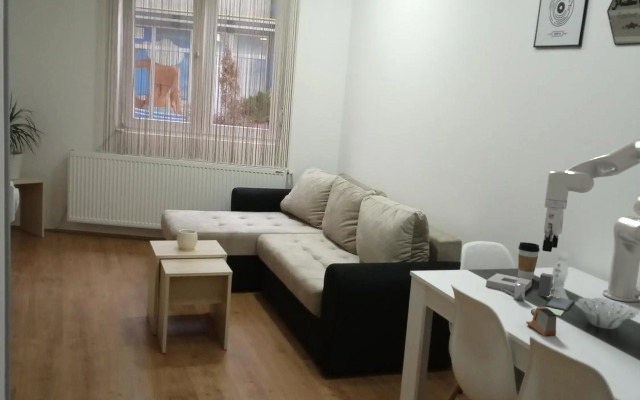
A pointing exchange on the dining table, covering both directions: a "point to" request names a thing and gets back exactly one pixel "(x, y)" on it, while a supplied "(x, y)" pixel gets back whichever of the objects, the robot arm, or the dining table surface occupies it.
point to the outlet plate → (507, 282)
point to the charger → (545, 284)
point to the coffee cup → (527, 260)
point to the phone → (559, 303)
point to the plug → (519, 292)
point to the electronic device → (543, 321)
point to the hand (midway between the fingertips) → (549, 249)
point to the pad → (556, 311)
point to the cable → (508, 292)
